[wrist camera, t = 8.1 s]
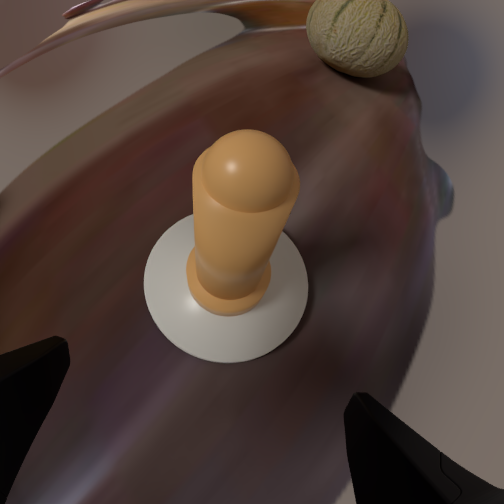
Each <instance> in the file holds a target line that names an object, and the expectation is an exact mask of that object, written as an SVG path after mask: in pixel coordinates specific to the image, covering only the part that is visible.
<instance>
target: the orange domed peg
mask: <svg viewBox="0 0 504 504" xmlns="http://www.w3.org/2000/svg"><path fill="white" fill-rule="evenodd" d="M299 189H300V179H299V175H298V172H297V170H296V168H295V166H294V165H293V163H292V162H291V159H290V156H289V154H288V153H287V151H286V149H285V148H284V147H283V145H282V144H281V143H280V142H279V141H277V140H276V139H275V138H274V137H272V136H270V135H268V134H266V133H264V132H261V131H257V130H238V131H234V132H231V133H229V134H226V135H224V136H223V137H221V138H220V139H218V140H217V141H216V142H215V143H214V144H213V145H212V146H211V147H210V148H208V149H207V150H205V151H204V152H203V153H202V154H201V155H200V156H199V158H198V159H197V161H196V163H195V165H194V169H193V215H194V241H195V246H194V248H193V249H192V251H191V252H190V254H189V257H188V260H187V264H186V274H187V282H188V287H189V291H190V293H191V295H192V297H193V298H194V300H195V301H196V302H197V303H198V304H199V305H200V306H201V307H202V308H203V309H205V310H206V311H208V312H210V313H212V314H215V315H219V316H226V317H231V316H238V315H241V314H244V313H246V312H248V311H250V310H251V309H253V308H254V307H255V306H256V305H257V304H258V303H259V302H260V300H261V299H262V297H263V295H264V294H265V292H266V290H267V288H268V286H269V283H270V279H271V265H270V261H269V260H270V257H271V255H272V253H273V251H274V248H275V246H276V244H277V242H278V239H279V237H280V235H281V233H282V230H283V228H284V226H285V224H286V221H287V219H288V217H289V215H290V212H291V210H292V208H293V206H294V203H295V201H296V199H297V196H298V193H299Z"/></svg>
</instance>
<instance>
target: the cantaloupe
mask: <svg viewBox="0 0 504 504" xmlns="http://www.w3.org/2000/svg"><path fill="white" fill-rule="evenodd" d="M306 29H307V36H308V38H309V42H310V44H311V46H312V48H313V50H314V51H315V52H316V54H317V55H318V57H319V58H320V59H321V60H322V61H324V62H325V63H326V64H328V65H329V66H331V67H332V68H334V69H335V70H337V71H339V72H343V73H346V74H349V75H351V76H355V77H364V78H371V77H375V76H379V75H382V74H384V73H386V72H388V71H390V70H392V69H393V68H394V67H395V66H396V65H398V64H399V62H400V61H401V60H402V58H403V56H404V54H405V52H406V50H407V46H408V30H407V26H406V23H405V21H404V18H403V17H402V14H401V13H400V12H399V10H398V9H397V8H396V7H395V6H394V5H393V4H392V3H391V2H390V1H388V0H316V1H315V3H314V4H313V5H312V7H311V8H310V11H309V14H308V17H307V27H306Z"/></svg>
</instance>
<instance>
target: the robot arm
mask: <svg viewBox="0 0 504 504" xmlns="http://www.w3.org/2000/svg"><path fill="white" fill-rule="evenodd" d="M69 366H70V355H69V348H68V343H67V340H66V339H64V338H61V337H58V336H53V337H50V338H47V339H44V340H41V341H39V342H36V343H33V344H30V345H27V346H24V347H22V348H19V349H16V350H13V351H10V352H7V353H4V354H2V355H0V504H5V502H6V500H7V498H6V497H8V494H9V492H10V490H11V487H12V485H13V483H14V480H15V478H16V476H17V474H18V472H19V469H20V467H21V465H22V463H23V461H24V459H25V457H26V455H27V453H28V451H29V448H30V446H31V444H32V442H33V441H34V439H35V437H36V435H37V433H38V431H39V429H40V427H41V425H42V423H43V421H44V419H45V418H46V416H47V414H48V412H49V410H50V409H51V407H52V405H53V403H54V401H55V398H56V396H57V394H58V391H59V389H60V387H61V384H62V382H63V380H64V377H65V375H66V373H67V371H68V368H69ZM344 425H345V437H346V449H347V457H348V463H349V468H350V473H351V478H352V483H353V488H354V494H355V498H356V504H504V489H500V488H497V487H495V486H493V485H491V484H489V483H488V482H486V481H484V480H483V479H481V478H479V477H477V476H476V475H474V474H473V473H471V472H469V471H468V470H466V469H465V468H463V467H461V466H460V465H458V464H457V463H456V462H454V461H453V460H451V459H450V458H449V457H447V456H446V455H444V454H443V453H442V452H440V451H439V450H438V449H437V448H436V447H434V446H433V445H432V444H431V443H429V442H428V441H427V440H425V439H424V438H423V437H421V436H420V435H419V434H418V433H416V432H415V431H414V430H413V429H411V428H410V427H409V426H408V425H406V424H405V423H404V422H403V421H401V420H400V419H399V418H398V417H396V416H395V415H394V414H393V413H391V412H390V411H389V410H388V409H386V408H385V407H384V406H383V405H382V404H380V403H379V402H378V401H377V400H375V399H374V398H373V397H372V396H371V395H369V394H368V393H365V392H356V393H354V394H353V396H352V397H351V399H350V401H349V403H348V405H347V407H346V409H345V411H344Z"/></svg>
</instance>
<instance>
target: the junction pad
mask: <svg viewBox="0 0 504 504" xmlns="http://www.w3.org/2000/svg"><path fill="white" fill-rule="evenodd" d="M194 246H195V241H194V215H190V216H188V217H186V218H184V219H182V220H180V221H179V222H177V223H176V224H174V225H173V226H172V227H170V228H169V229H168V230H167V231H166V232H165V233H164V234H163V235H162V236H161V238H160V239H159V240H158V241H157V243H156V244H155V246H154V248H153V249H152V251H151V253H150V256H149V258H148V261H147V265H146V268H145V275H144V292H145V298H146V302H147V305H148V309H149V311H150V313H151V315H152V317H153V320H154V321H155V323H156V324H157V326H158V327H159V329H160V330H161V332H162V333H163V334H164V335H165V336H166V337H167V338H168V340H169V341H171V342H172V343H173V344H174V345H175V346H177V347H178V348H179V349H181V350H183V351H184V352H186V353H187V354H190V355H192V356H194V357H196V358H199V359H202V360H205V361H209V362H215V363H230V364H232V363H240V362H246V361H249V360H253V359H256V358H258V357H261V356H263V355H265V354H267V353H268V352H270V351H272V350H273V349H275V348H276V347H277V346H279V345H280V344H281V343H282V342H284V341H285V340H286V339H287V338H288V337H289V336H290V334H291V333H292V332H293V331H294V329H295V328H296V326H297V325H298V323H299V321H300V319H301V317H302V315H303V313H304V310H305V307H306V303H307V297H308V278H307V272H306V268H305V265H304V262H303V259H302V257H301V255H300V253H299V251H298V249H297V248H296V246H295V245H294V243H293V242H292V241H291V240H290V238H289V237H288V236H287V235H286V234H285V233H284V232H283V231H282V233H281V235H280V237H279V239H278V242H277V244H276V246H275V248H274V251H273V253H272V255H271V257H270V260H269V261H270V265H271V279H270V283H269V286H268V288H267V290H266V292H265V294H264V295H263V297H262V299H261V300H260V302H259V303H258V304H257V305H256V306H255V307H254V308H253V309H251V310H250V311H248V312H246V313H244V314H241V315H238V316H231V317H226V316H219V315H215V314H212V313H210V312H208V311H206V310H205V309H203V308H202V307H201V306H200V305H199V304H198V303H197V302H196V301H195V300H194V298H193V297H192V295H191V293H190V291H189V287H188V282H187V274H186V264H187V260H188V257H189V254H190V252H191V251H192V249H193V248H194Z"/></svg>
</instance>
